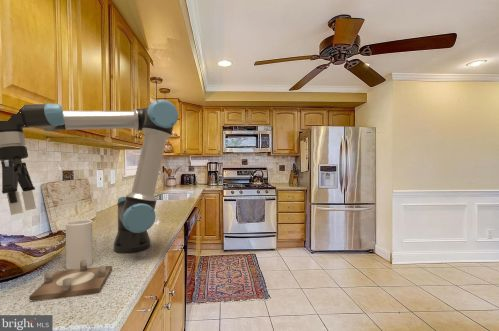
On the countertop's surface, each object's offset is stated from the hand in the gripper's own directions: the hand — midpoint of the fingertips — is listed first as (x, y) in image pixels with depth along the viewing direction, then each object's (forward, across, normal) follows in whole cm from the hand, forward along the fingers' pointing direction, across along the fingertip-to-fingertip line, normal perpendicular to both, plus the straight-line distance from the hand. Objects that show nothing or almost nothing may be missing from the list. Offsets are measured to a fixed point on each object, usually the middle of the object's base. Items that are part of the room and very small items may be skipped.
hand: (24, 211), depth 85 cm
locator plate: (+25, +10, +11) cm, 29 cm away
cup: (+24, -8, +10) cm, 27 cm away
